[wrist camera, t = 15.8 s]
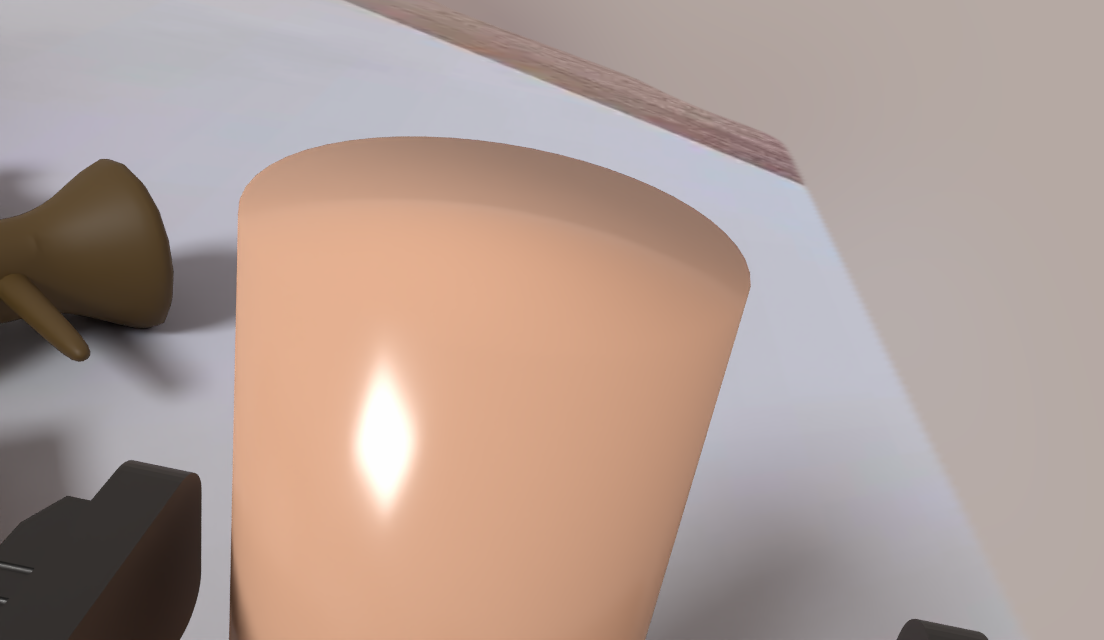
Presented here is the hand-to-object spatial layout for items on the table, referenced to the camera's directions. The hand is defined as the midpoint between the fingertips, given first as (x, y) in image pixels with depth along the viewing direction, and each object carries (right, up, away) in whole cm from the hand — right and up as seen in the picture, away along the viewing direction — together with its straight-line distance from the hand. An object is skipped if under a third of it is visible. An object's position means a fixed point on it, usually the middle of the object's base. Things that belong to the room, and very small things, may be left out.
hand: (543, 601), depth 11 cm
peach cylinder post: (-3, -8, +5) cm, 10 cm away
